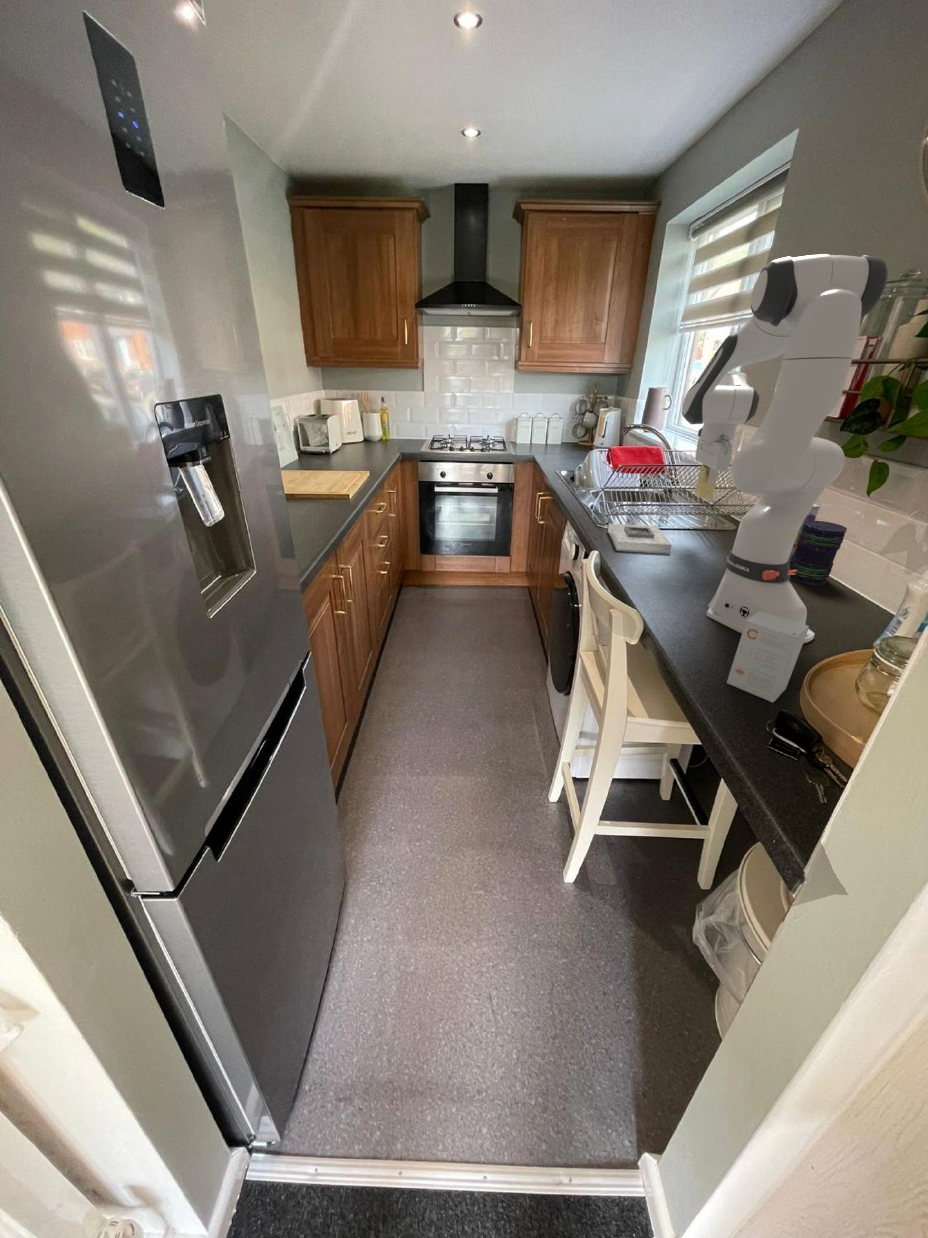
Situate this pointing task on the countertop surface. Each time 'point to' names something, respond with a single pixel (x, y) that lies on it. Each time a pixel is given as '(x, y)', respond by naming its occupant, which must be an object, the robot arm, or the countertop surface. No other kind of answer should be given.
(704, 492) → the yellow tall rectangular block
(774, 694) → the small box
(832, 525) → the storage jar
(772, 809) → the countertop surface
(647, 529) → the grey socket base
